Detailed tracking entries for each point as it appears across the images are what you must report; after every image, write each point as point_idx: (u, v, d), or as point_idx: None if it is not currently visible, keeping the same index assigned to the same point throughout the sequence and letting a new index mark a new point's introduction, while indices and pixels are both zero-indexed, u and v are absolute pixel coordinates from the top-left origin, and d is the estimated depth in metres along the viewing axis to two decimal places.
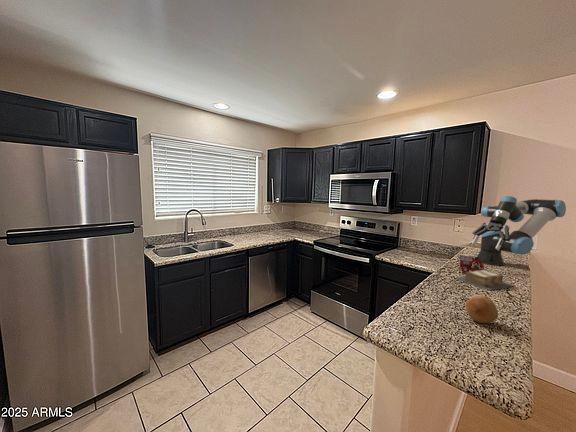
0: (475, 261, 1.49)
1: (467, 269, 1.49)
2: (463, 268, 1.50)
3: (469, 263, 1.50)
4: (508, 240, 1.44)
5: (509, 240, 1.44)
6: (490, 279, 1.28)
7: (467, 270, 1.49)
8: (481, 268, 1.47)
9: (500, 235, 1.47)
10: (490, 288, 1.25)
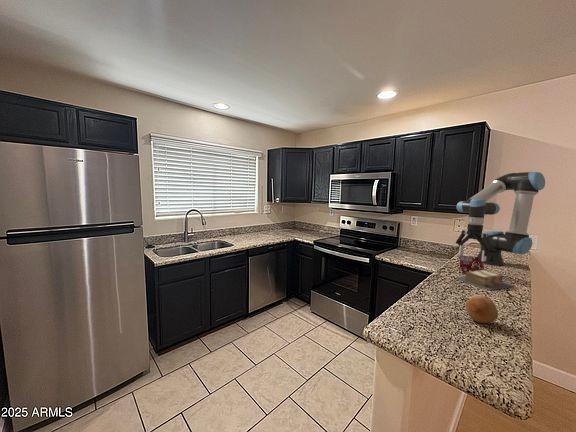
0: (475, 261, 1.49)
1: (467, 269, 1.49)
2: (463, 268, 1.50)
3: (469, 263, 1.50)
4: (491, 250, 1.40)
5: (492, 249, 1.40)
6: (490, 279, 1.28)
7: (467, 270, 1.49)
8: (481, 268, 1.47)
9: (482, 246, 1.43)
10: (490, 288, 1.25)
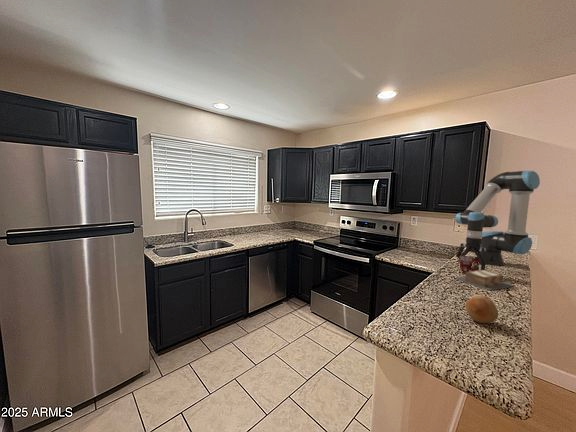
0: (475, 261, 1.49)
1: (467, 269, 1.49)
2: (463, 268, 1.50)
3: (469, 263, 1.50)
4: (487, 264, 1.42)
5: (488, 264, 1.42)
6: (490, 279, 1.28)
7: (467, 270, 1.49)
8: None
9: (479, 260, 1.45)
10: (490, 288, 1.25)
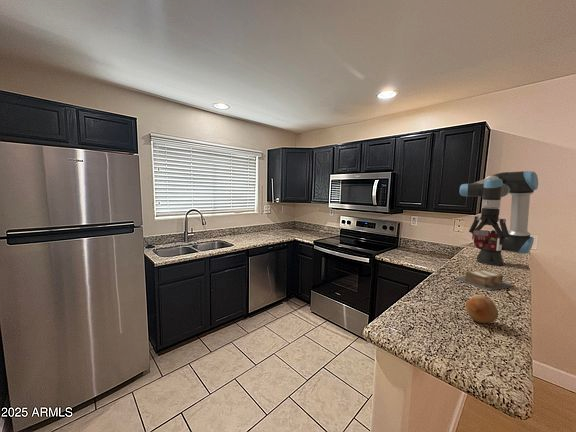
0: (492, 235, 1.30)
1: (483, 244, 1.30)
2: (478, 244, 1.32)
3: (485, 238, 1.32)
4: (507, 237, 1.23)
5: (508, 237, 1.23)
6: (490, 279, 1.28)
7: (482, 245, 1.30)
8: None
9: (497, 233, 1.26)
10: (490, 288, 1.25)
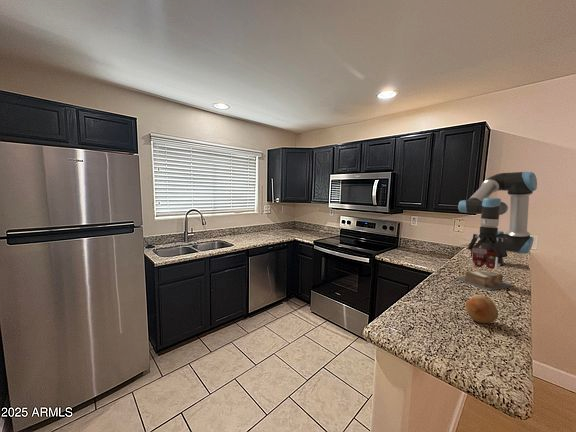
0: (490, 253, 1.31)
1: (481, 263, 1.31)
2: (477, 262, 1.32)
3: (483, 256, 1.32)
4: None
5: (506, 256, 1.24)
6: (490, 279, 1.28)
7: (481, 264, 1.31)
8: None
9: (495, 251, 1.27)
10: (490, 288, 1.25)
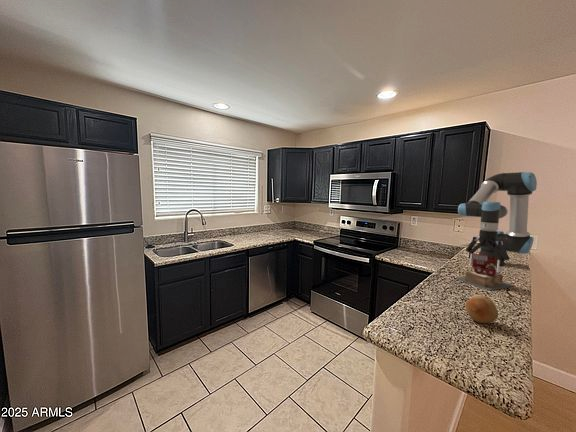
0: (491, 261, 1.31)
1: (481, 270, 1.31)
2: (476, 268, 1.33)
3: (483, 263, 1.33)
4: (507, 259, 1.24)
5: (508, 259, 1.23)
6: (490, 279, 1.28)
7: (481, 270, 1.32)
8: None
9: (496, 255, 1.26)
10: (490, 288, 1.25)
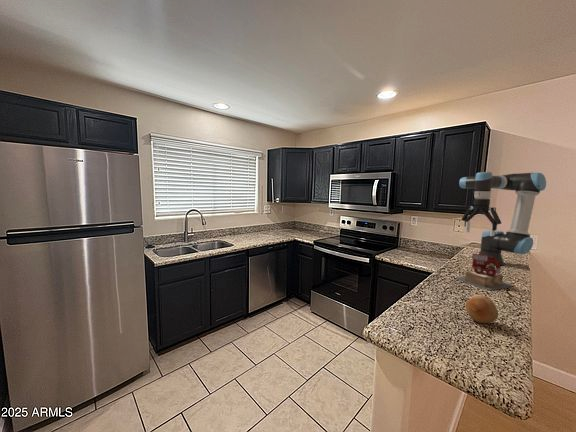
0: (491, 261, 1.31)
1: (481, 270, 1.31)
2: (476, 268, 1.33)
3: (483, 263, 1.33)
4: (499, 223, 1.36)
5: (500, 223, 1.36)
6: (490, 279, 1.28)
7: (481, 270, 1.32)
8: (497, 269, 1.29)
9: None
10: (490, 288, 1.25)
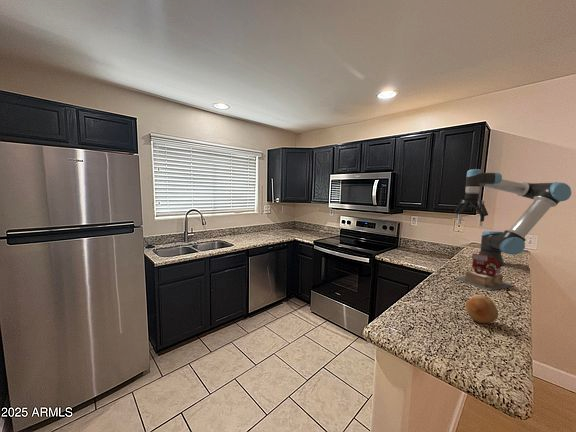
0: (491, 261, 1.31)
1: (481, 270, 1.31)
2: (476, 268, 1.33)
3: (483, 263, 1.33)
4: (486, 215, 1.52)
5: (487, 215, 1.52)
6: (490, 279, 1.28)
7: (481, 270, 1.32)
8: (497, 269, 1.29)
9: (478, 212, 1.55)
10: (490, 288, 1.25)
